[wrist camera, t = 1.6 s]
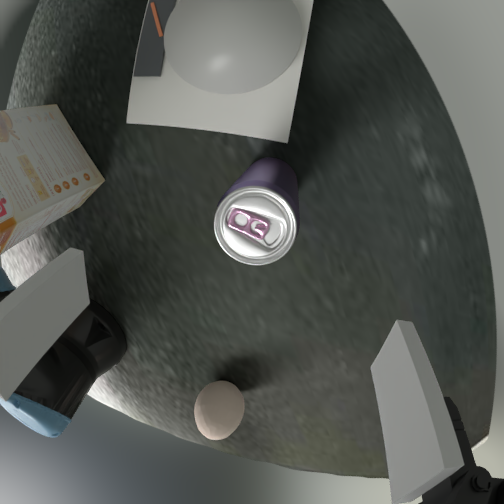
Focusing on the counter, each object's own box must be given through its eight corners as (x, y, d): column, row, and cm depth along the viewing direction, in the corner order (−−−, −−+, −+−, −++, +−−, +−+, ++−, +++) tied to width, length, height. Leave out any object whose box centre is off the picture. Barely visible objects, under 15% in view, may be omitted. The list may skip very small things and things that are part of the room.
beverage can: (256, 148, 32) (229, 169, 18) (306, 170, 32) (315, 207, 19) (236, 195, 35) (199, 247, 21) (283, 215, 35) (276, 280, 21)
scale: (138, 122, 32) (121, 123, 28) (170, -33, 23) (157, -45, 19) (287, 141, 31) (287, 143, 28) (317, -27, 22) (320, -42, 18)
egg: (195, 382, 50) (177, 433, 39) (220, 362, 46) (203, 418, 36) (230, 403, 51) (218, 453, 41) (258, 385, 48) (248, 441, 37)
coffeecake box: (33, 134, 34) (-68, 164, 16) (57, 102, 32) (-55, 118, 14) (79, 209, 38) (-20, 270, 21) (107, 180, 36) (-5, 235, 18)
